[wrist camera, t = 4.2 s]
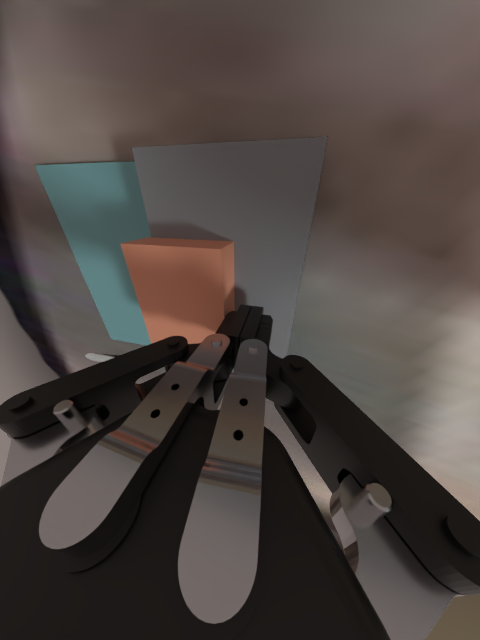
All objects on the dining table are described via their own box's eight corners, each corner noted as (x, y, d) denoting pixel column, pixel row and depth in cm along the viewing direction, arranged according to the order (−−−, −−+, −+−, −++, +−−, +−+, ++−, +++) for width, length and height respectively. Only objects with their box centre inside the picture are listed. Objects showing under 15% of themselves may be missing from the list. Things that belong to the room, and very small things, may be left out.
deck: (318, 156, 11) (328, 136, 8) (281, 367, 21) (278, 397, 18) (171, 161, 13) (131, 147, 10) (198, 351, 23) (182, 376, 20)
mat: (167, 161, 13) (163, 160, 13) (195, 351, 23) (194, 354, 23) (41, 166, 16) (34, 165, 15) (114, 336, 25) (111, 338, 25)
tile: (233, 241, 11) (221, 249, 9) (235, 353, 16) (226, 374, 14) (147, 237, 13) (120, 243, 11) (172, 342, 17) (156, 360, 15)
